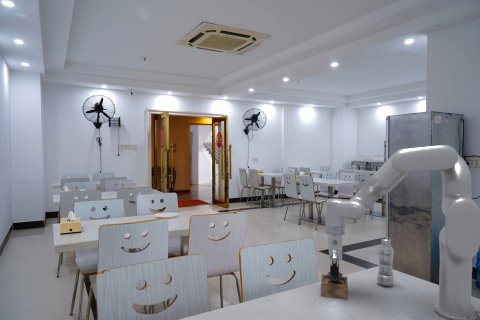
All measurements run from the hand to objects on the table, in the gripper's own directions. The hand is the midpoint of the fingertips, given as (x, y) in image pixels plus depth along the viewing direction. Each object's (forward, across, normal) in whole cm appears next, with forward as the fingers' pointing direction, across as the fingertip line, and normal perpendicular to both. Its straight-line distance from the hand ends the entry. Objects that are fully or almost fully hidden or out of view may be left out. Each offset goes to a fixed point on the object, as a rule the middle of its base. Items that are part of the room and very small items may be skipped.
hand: (334, 271), depth 132 cm
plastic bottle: (+9, +15, -21) cm, 27 cm away
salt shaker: (+5, 0, 0) cm, 5 cm away
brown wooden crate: (+9, 0, 0) cm, 9 cm away
